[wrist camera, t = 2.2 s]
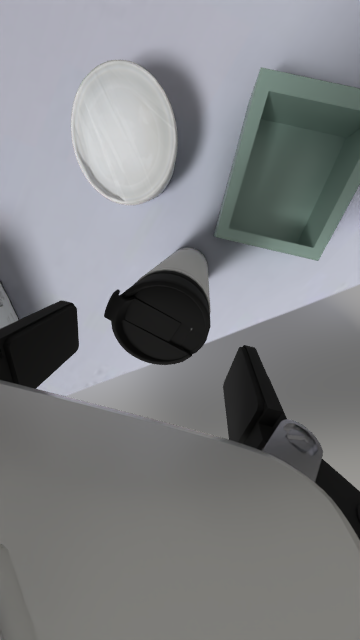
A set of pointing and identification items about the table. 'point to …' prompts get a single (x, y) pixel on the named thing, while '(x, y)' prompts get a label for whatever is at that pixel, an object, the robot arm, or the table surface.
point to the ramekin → (124, 132)
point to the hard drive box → (6, 310)
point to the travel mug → (164, 310)
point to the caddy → (293, 165)
